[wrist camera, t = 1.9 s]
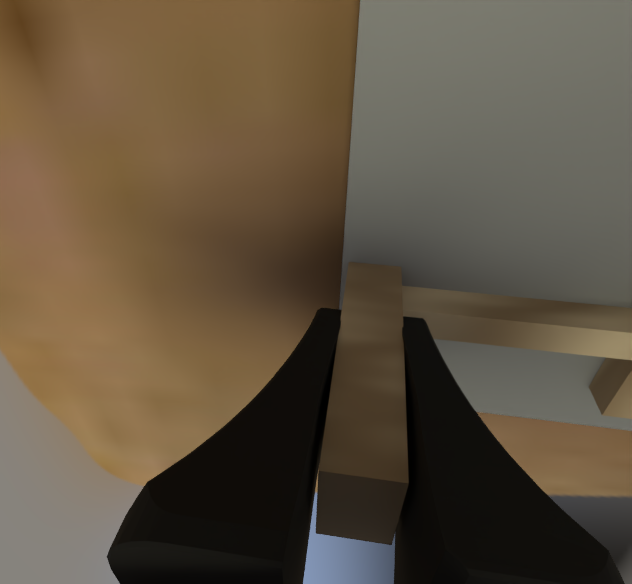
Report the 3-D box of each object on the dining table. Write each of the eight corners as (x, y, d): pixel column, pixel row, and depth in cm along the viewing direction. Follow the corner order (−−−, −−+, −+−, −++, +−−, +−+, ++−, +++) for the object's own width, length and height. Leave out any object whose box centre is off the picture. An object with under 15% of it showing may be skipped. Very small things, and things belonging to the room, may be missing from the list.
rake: (720, 237, 11) (1036, 496, 6) (619, 390, 15) (753, 640, 9) (352, 208, 12) (321, 405, 7) (341, 358, 16) (314, 568, 10)
